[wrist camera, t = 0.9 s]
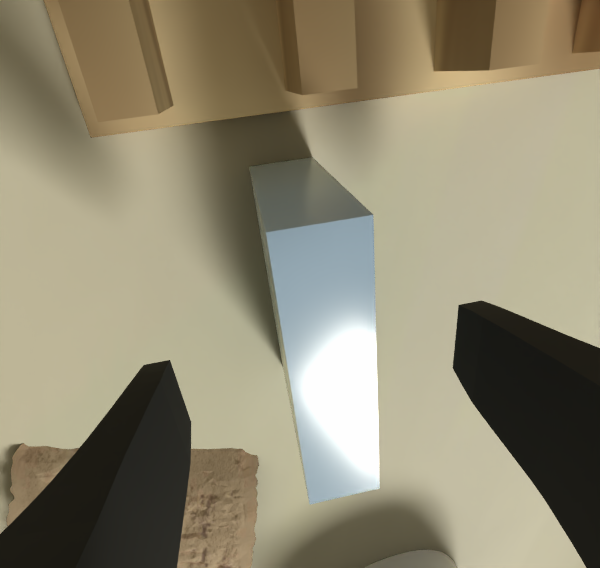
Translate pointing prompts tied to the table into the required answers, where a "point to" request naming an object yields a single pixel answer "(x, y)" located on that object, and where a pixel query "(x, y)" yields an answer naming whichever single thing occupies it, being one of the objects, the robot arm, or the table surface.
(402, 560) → the lumpy-topped squat cylinder
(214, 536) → the clay tablet
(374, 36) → the rack
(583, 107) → the table surface
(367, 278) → the pale blue block
